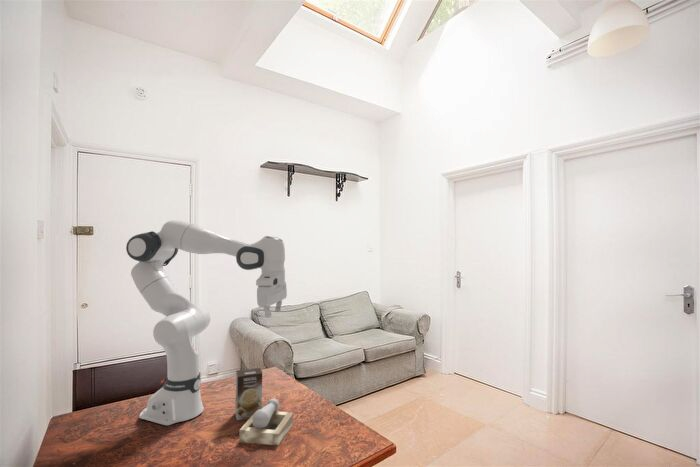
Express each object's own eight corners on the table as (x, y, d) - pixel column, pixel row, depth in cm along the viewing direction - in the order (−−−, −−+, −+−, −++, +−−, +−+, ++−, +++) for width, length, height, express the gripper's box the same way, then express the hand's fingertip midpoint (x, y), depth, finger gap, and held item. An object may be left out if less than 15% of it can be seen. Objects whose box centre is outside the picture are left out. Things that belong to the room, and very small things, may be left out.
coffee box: (236, 421, 125) (236, 376, 125) (235, 412, 131) (235, 370, 131) (262, 416, 128) (262, 373, 129) (259, 408, 134) (260, 367, 134)
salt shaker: (261, 411, 112) (277, 392, 125) (247, 417, 114) (264, 398, 126) (268, 428, 112) (284, 407, 125) (254, 434, 113) (271, 413, 126)
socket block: (239, 442, 112) (239, 429, 112) (257, 420, 125) (257, 409, 126) (278, 446, 110) (278, 434, 110) (293, 424, 123) (293, 412, 123)
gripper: (276, 275, 143) (276, 308, 143) (253, 281, 123) (253, 320, 123) (290, 275, 142) (290, 309, 142) (270, 282, 122) (270, 321, 122)
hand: (273, 314), depth 132 cm, fingers open, 8 cm apart
